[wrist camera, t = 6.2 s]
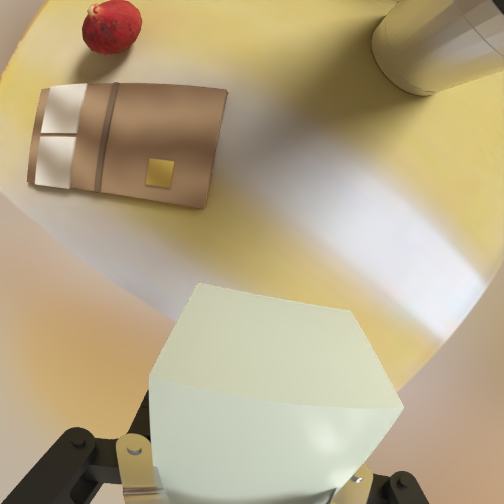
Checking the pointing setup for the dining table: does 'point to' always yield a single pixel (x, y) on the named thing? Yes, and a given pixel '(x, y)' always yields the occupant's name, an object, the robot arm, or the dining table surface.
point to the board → (128, 140)
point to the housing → (264, 400)
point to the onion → (111, 26)
